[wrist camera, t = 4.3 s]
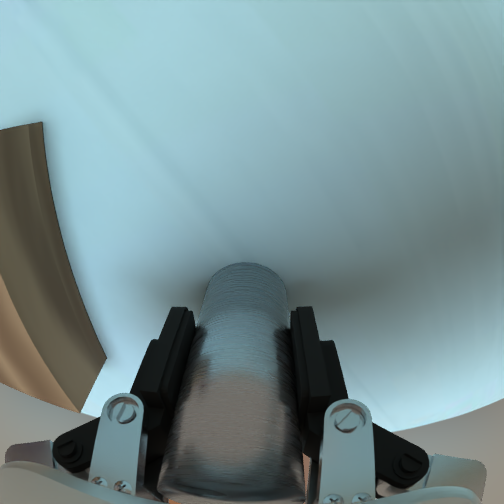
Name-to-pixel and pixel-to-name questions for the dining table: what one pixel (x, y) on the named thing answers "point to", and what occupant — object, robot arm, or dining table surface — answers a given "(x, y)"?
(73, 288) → the block
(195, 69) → the dining table surface
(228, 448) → the pin
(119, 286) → the dining table surface
